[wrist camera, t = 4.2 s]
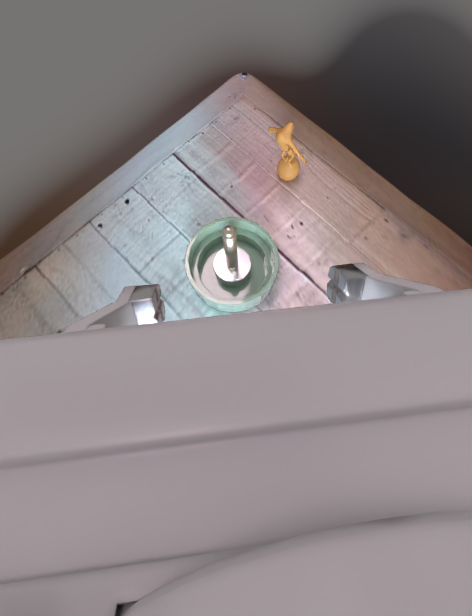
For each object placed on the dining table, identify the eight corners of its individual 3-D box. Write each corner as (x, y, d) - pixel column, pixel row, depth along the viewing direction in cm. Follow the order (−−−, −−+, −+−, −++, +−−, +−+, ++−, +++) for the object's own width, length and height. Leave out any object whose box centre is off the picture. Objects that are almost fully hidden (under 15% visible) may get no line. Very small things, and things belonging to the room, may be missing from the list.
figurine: (310, 184, 49) (331, 125, 37) (286, 203, 48) (300, 150, 36) (278, 156, 50) (289, 90, 38) (255, 174, 49) (258, 113, 38)
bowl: (265, 227, 47) (268, 210, 42) (283, 304, 44) (288, 295, 39) (186, 240, 47) (179, 225, 42) (197, 319, 43) (191, 312, 39)
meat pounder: (247, 251, 46) (248, 202, 32) (253, 284, 44) (258, 247, 31) (212, 257, 46) (200, 210, 32) (218, 290, 44) (207, 256, 31)
